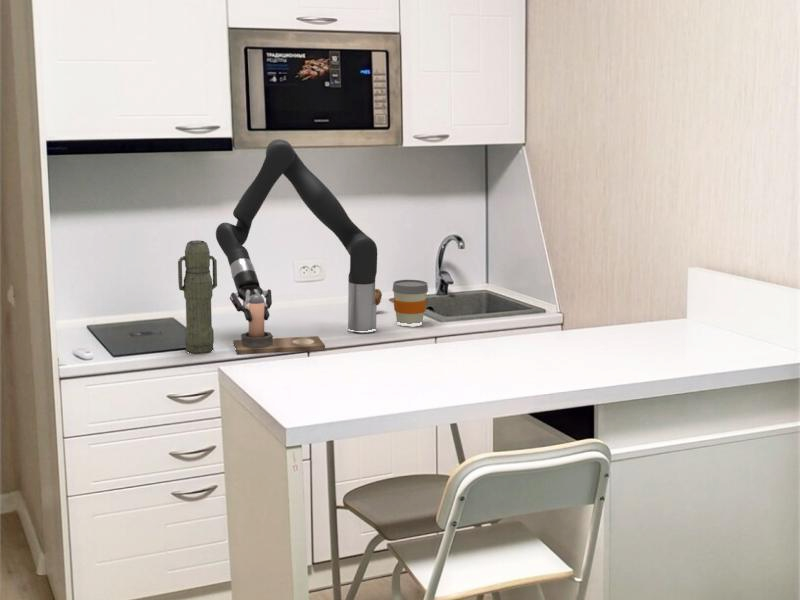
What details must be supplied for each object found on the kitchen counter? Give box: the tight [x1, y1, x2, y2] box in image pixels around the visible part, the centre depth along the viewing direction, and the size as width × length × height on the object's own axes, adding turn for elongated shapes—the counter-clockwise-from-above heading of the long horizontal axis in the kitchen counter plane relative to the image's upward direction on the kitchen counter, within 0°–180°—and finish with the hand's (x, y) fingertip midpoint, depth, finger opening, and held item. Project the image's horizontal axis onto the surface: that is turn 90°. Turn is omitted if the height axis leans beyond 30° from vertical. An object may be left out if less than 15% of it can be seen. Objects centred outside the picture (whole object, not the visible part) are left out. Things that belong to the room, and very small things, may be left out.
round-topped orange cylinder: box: [248, 294, 265, 338], centre depth 319 cm, size 5×5×14 cm
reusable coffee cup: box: [392, 279, 429, 324], centre depth 355 cm, size 13×13×15 cm
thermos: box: [177, 239, 218, 355], centre depth 314 cm, size 9×12×35 cm
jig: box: [232, 331, 326, 355], centre depth 323 cm, size 28×12×4 cm, turn 105°
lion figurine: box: [375, 288, 383, 315], centre depth 369 cm, size 15×5×9 cm, turn 132°
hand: (258, 319), depth 318 cm, fingers closed on round-topped orange cylinder, 5 cm apart
